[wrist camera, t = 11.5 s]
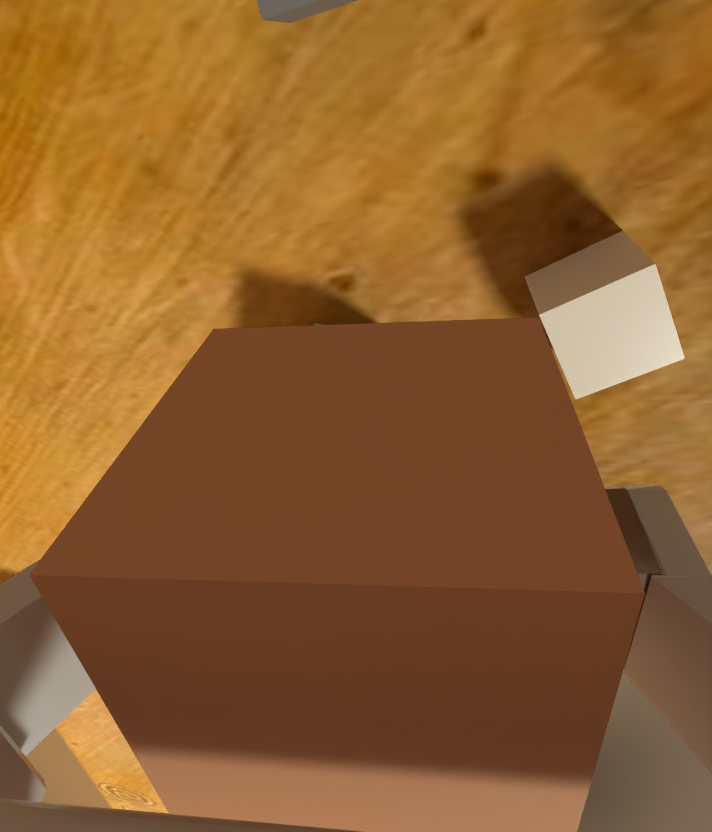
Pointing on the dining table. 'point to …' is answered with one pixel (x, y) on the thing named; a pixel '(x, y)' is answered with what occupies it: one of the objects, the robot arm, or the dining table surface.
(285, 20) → the charcoal cube
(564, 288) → the off-white cube
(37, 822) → the robot arm
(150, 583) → the terracotta cube
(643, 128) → the dining table surface
